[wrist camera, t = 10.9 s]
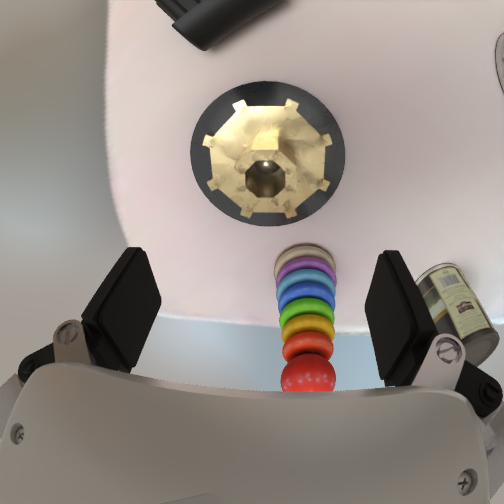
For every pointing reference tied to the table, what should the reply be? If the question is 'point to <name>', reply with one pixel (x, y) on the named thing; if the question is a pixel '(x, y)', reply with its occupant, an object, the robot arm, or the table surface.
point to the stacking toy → (306, 318)
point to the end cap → (211, 17)
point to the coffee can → (458, 311)
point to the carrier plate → (267, 98)
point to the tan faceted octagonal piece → (267, 158)
